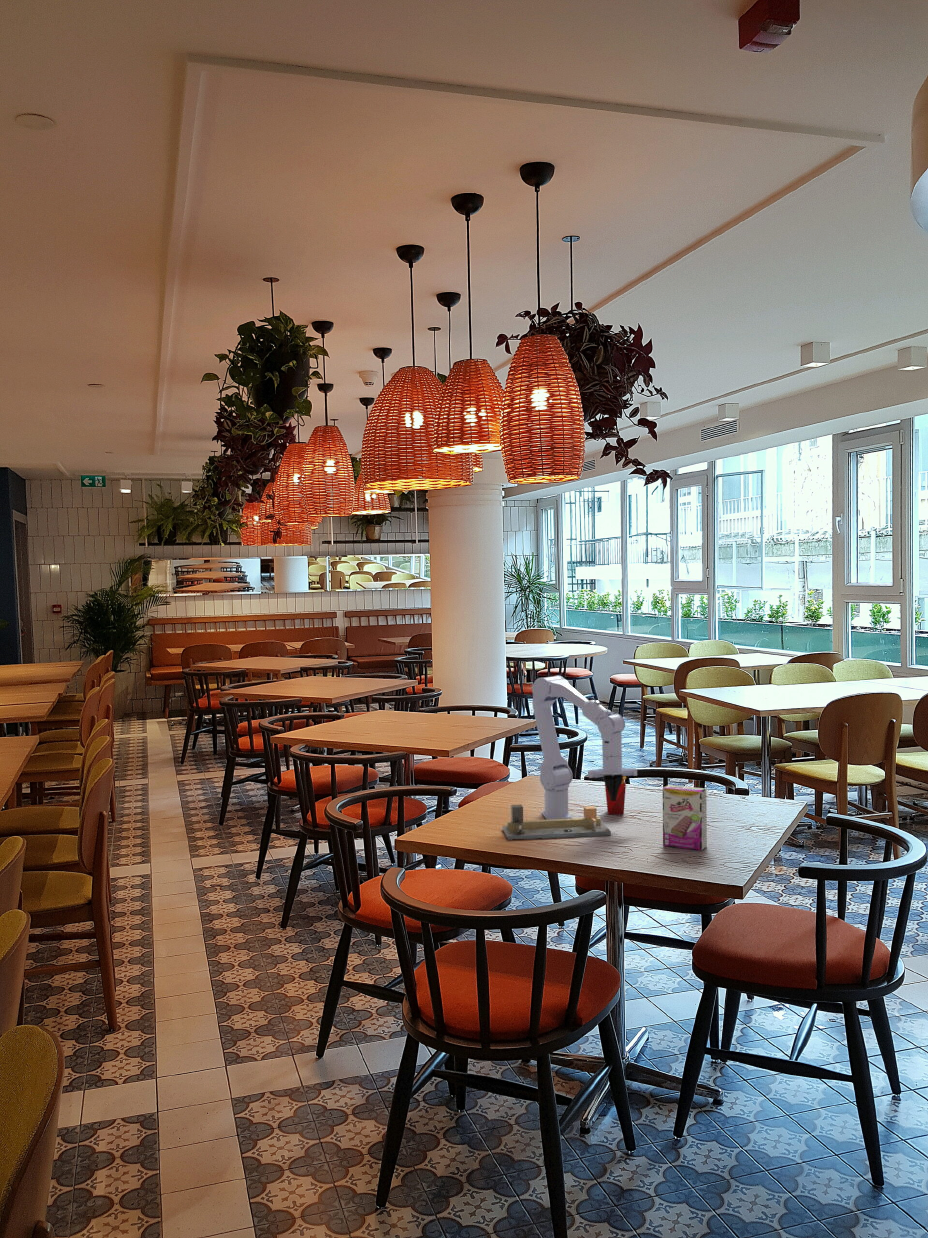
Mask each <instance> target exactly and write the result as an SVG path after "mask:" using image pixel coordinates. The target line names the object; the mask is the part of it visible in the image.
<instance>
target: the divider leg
mask: <svg viewBox="0 0 928 1238" xmlns="http://www.w3.org/2000/svg"><path fill="white" fill-rule="evenodd" d="M597 815H598V814H597V807H596V806H595V805H591V806H590V805H588V806H587V805H586V806H583V818H586V819H591V820H592V821H593V822H594V829H596V820H595V819H596V818H597Z"/></svg>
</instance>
